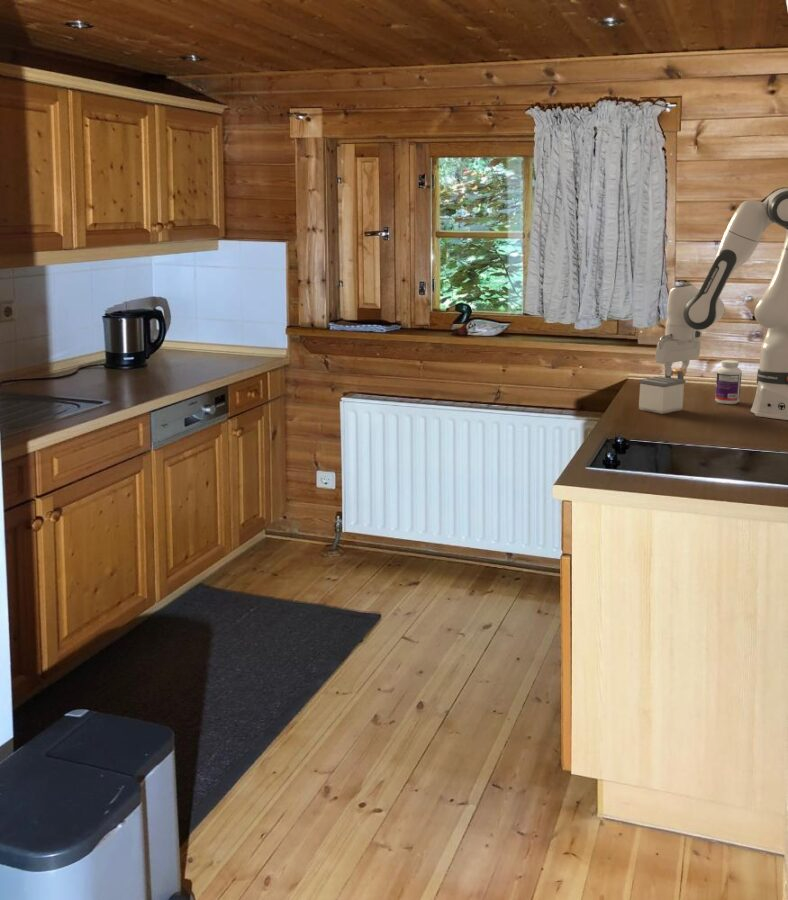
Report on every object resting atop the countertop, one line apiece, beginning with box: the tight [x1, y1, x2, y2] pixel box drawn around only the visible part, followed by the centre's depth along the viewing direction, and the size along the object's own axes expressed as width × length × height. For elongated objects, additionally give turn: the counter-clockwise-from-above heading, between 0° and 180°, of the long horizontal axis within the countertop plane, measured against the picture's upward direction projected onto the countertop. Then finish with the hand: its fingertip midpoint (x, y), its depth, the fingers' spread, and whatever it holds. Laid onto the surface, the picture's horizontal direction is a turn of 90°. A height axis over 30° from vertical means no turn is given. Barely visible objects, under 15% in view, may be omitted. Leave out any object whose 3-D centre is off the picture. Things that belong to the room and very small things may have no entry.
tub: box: [638, 382, 685, 415], centre depth 351 cm, size 9×11×9 cm
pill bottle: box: [714, 359, 742, 405], centre depth 362 cm, size 8×8×14 cm
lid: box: [639, 368, 687, 387], centre depth 350 cm, size 14×10×4 cm
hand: (676, 374), depth 354 cm, fingers open, 6 cm apart
